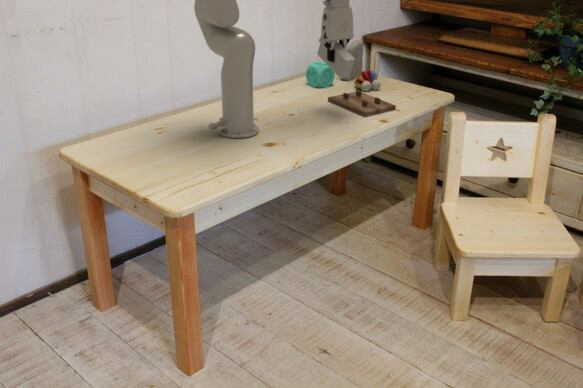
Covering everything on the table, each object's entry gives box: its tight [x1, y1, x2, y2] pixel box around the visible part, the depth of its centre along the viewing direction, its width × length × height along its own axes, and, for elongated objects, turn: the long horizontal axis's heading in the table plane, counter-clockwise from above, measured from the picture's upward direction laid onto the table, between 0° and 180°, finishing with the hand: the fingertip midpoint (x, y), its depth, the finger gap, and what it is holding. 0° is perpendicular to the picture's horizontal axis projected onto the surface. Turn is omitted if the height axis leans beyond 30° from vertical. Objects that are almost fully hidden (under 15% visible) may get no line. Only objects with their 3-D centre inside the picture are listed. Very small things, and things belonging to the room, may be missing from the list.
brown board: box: [327, 89, 397, 118], centre depth 221 cm, size 14×20×4 cm
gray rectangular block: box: [316, 39, 355, 80], centre depth 207 cm, size 4×14×7 cm, turn 34°
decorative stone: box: [341, 39, 364, 82], centre depth 249 cm, size 11×6×15 cm, turn 143°
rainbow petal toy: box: [353, 69, 382, 92], centre depth 238 cm, size 8×10×7 cm
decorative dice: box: [305, 61, 336, 89], centre depth 242 cm, size 8×8×8 cm
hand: (335, 59), depth 207 cm, fingers closed on gray rectangular block, 3 cm apart
